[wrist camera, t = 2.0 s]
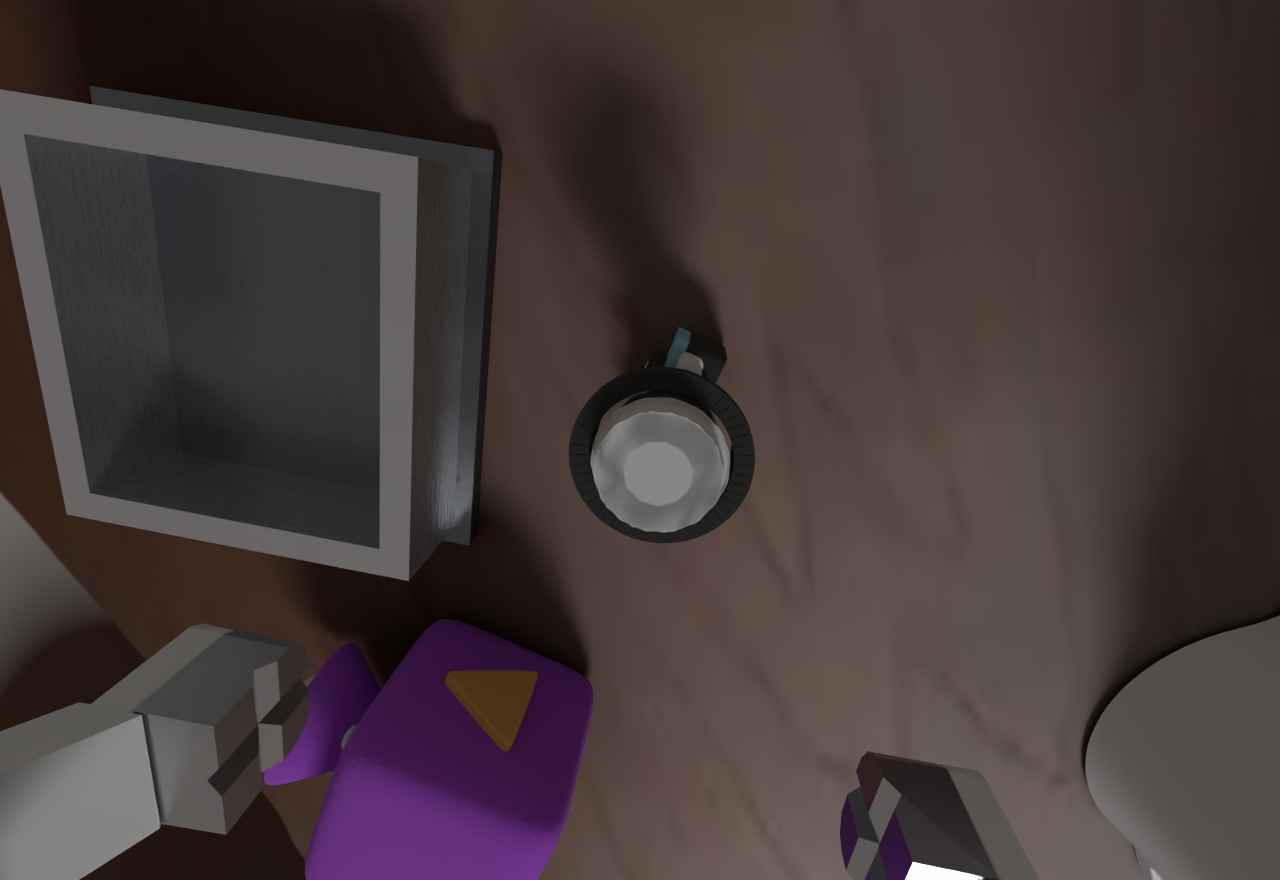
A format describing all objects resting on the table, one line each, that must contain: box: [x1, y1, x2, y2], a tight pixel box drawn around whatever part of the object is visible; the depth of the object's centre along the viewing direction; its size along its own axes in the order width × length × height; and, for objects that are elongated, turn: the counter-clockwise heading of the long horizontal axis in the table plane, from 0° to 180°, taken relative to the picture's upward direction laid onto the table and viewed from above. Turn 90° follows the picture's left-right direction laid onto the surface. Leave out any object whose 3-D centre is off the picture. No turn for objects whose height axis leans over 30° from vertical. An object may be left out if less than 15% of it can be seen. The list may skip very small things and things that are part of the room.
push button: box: [569, 327, 755, 543], centre depth 21 cm, size 7×5×10 cm
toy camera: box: [264, 619, 593, 880], centre depth 28 cm, size 11×14×10 cm
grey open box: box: [0, 86, 502, 581], centre depth 24 cm, size 16×17×6 cm
